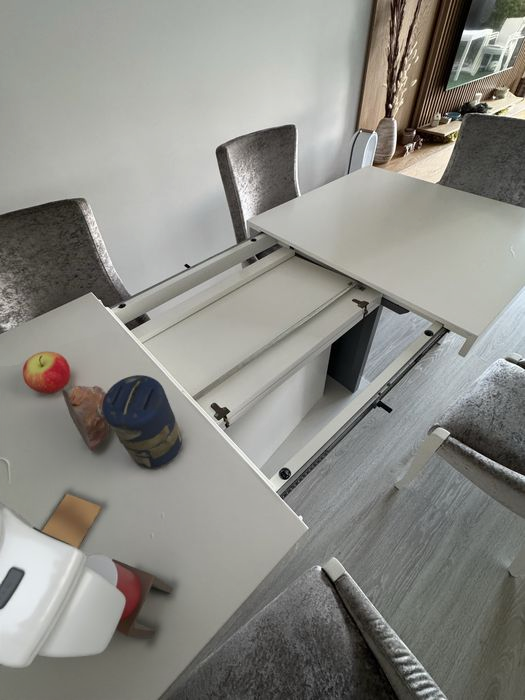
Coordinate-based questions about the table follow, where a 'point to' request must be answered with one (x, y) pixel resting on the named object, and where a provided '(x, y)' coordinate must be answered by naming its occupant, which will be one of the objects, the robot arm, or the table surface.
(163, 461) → the canister
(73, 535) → the coaster
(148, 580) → the brown wooden stand
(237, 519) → the table surface
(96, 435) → the stone
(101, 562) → the tube
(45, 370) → the apple
